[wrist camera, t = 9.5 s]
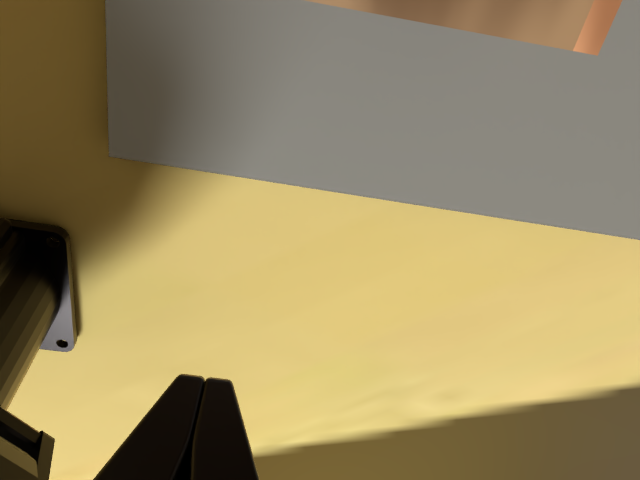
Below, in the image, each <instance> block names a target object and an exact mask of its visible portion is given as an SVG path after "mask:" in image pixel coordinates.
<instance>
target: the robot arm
mask: <svg viewBox="0 0 640 480" xmlns="http://www.w3.org/2000/svg"><path fill="white" fill-rule="evenodd" d="M51 237H54V238H56V239H58V240H59V242H56V241H54V240H52V239H51ZM63 340H65V341H63ZM76 341H77V331H76V317H75V303H74V289H73V275H72V261H71V247H70V237H69V234H68V233H67V232H66V230H64V229H63V228H61V227H58V226H53V225H46V224H39V223H32V222H25V221H18V220H11V219H5V218H0V480H49V474H50V467H51V461H52V454H53V448H54V442H55V439H54V438H52V437H51V436H49V435H48V434H46V433H45V432H43V431H40V432H38V431H37V430H35V429H34V428H32V427H31V426H29V425H28V424H26V423H25V422H23V421H22V420H20V419H19V418H17V417H16V416H14V415H13V414H11V413H10V412H8V411H7V409H8V407H9V405H10V403H11V401H12V399H13V397H14V395H15V394H16V392H17V390H18V388H19V386H20V384H21V382H22V380H23V378H24V377H25V375H26V373H27V371H28V369H29V367H30V365H31V363H32V361H33V359H34V358H35V356H36V354H37V352H38V350H39V349H45V350H53V351H61V352H68V351H71V350H72V349H73V348H74V346H75V344H76ZM93 480H260V479H259V476H258V472H257V469H256V465H255V462H254V458H253V454H252V451H251V447H250V444H249V440H248V437H247V433H246V429H245V426H244V422H243V419H242V415H241V412H240V408H239V404H238V401H237V397H236V394H235V390H234V387H233V384H232V382H231V381H230V380H228V379H220V378H212V377H210V378H207V379H206V381H205V379H204V378H203V377H202V376H196V375H188V374H181V375H179V376H178V377H176V379H175V380H174V381H173V382H172V383H171V385H170V386H169V387H168V388H167V390H166V391H165V392H164V393H163V394H162V396H161V397H160V398H159V399H158V401H157V402H156V403H155V404H154V406H153V407H152V408H151V409H150V410H149V412H148V413H147V414H146V415H145V417H144V418H143V419H142V420H141V421H140V423H139V424H138V425H137V426H136V428H135V429H134V430H133V431H132V433H131V434H130V435H129V436H128V437H127V439H126V440H125V441H124V442H123V444H122V445H121V446H120V447H119V448H118V450H117V451H116V452H115V453H114V455H113V456H112V457H111V458H110V460H109V461H108V462H107V463H106V464H105V466H104V467H103V468H102V469H101V471H100V472H99V473H98V474H97V476H96V477H95V478H94V479H93Z"/></svg>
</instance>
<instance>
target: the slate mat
mask: <svg viewBox="0 0 640 480" xmlns="http://www.w3.org/2000/svg"><path fill="white" fill-rule="evenodd" d="M105 13H106V55H107V97H108V139H109V157H115V158H122V159H128V160H134V161H141V162H147V163H153V164H160V165H166V166H172V167H179V168H185V169H192V170H198V171H204V172H211V173H217V174H223V175H230V176H236V177H242V178H249V179H255V180H262V181H268V182H274V183H281V184H287V185H293V186H300V187H306V188H312V189H319V190H325V191H332V192H338V193H344V194H351V195H357V196H363V197H370V198H376V199H382V200H389V201H395V202H401V203H408V204H414V205H421V206H427V207H433V208H440V209H446V210H452V211H459V212H465V213H471V214H478V215H484V216H491V217H497V218H503V219H510V220H516V221H522V222H529V223H535V224H541V225H548V226H554V227H560V228H567V229H573V230H580V231H586V232H592V233H599V234H605V235H611V236H618V237H624V238H630V239H637V240H640V0H622V2H621V5H620V7H619V9H618V11H617V14H616V16H615V18H614V20H613V22H612V25H611V27H610V29H609V31H608V34H607V36H606V38H605V40H604V43H603V45H602V47H601V49H600V52H599V54H598V56H597V55H592V54H586V53H581V52H576V51H570V50H565V49H560V48H554V47H549V46H544V45H539V44H533V43H528V42H523V41H517V40H512V39H507V38H501V37H496V36H491V35H485V34H480V33H475V32H469V31H464V30H459V29H453V28H448V27H443V26H438V25H432V24H427V23H422V22H416V21H411V20H406V19H400V18H395V17H390V16H384V15H379V14H374V13H368V12H363V11H358V10H353V9H347V8H342V7H337V6H331V5H326V4H321V3H315V2H310V1H305V0H105Z"/></svg>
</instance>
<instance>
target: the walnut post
mask: <svg viewBox="0 0 640 480" xmlns="http://www.w3.org/2000/svg"><path fill="white" fill-rule="evenodd" d="M305 1H310V2H315V3H321V4H326V5H331V6H337V7H342V8H347V9H353V10H358V11H363V12H368V13H374V14H379V15H384V16H390V17H395V18H400V19H406V20H411V21H416V22H422V23H427V24H432V25H438V26H443V27H448V28H453V29H459V30H464V31H469V32H475V33H480V34H485V35H491V36H496V37H501V38H507V39H512V40H517V41H523V42H528V43H533V44H539V45H544V46H549V47H554V48H560V49H565V50H570V51H576V52H581V53H586V54H592V55H597V56H598V54H599V52H600V49H601V47H602V45H603V43H604V40H605V38H606V36H607V34H608V31H609V29H610V27H611V25H612V22H613V20H614V18H615V16H616V14H617V11H618V9H619V7H620V5H621V2H622V0H305Z"/></svg>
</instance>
